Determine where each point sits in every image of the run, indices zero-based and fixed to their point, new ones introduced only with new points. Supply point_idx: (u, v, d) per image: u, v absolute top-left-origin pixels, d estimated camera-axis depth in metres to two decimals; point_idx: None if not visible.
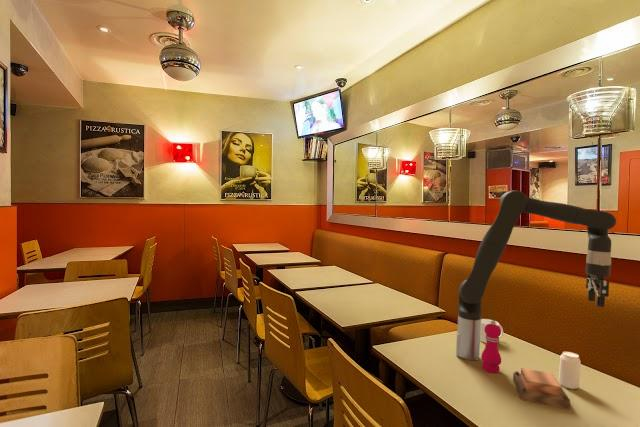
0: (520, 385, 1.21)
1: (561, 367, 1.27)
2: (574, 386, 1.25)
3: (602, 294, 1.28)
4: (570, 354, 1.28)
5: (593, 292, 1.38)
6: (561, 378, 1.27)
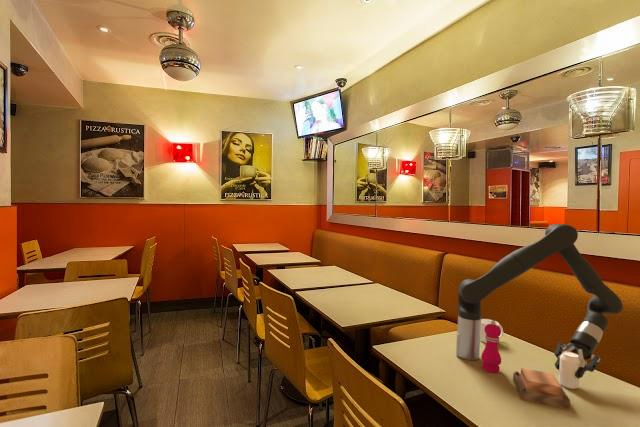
0: (520, 385, 1.21)
1: (561, 367, 1.27)
2: (574, 386, 1.25)
3: None
4: (570, 354, 1.28)
5: None
6: (561, 378, 1.27)
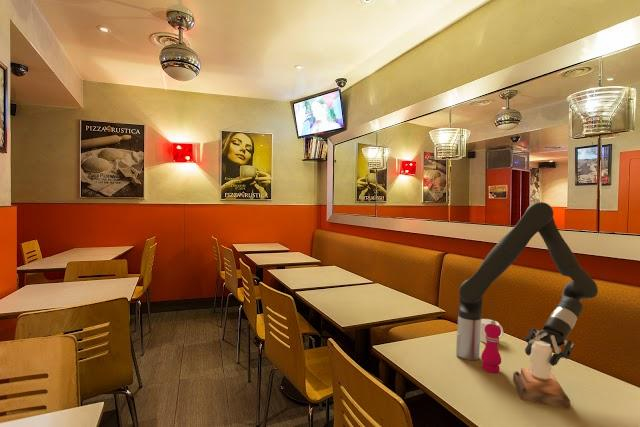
0: (520, 385, 1.21)
1: (532, 357, 1.21)
2: (545, 376, 1.18)
3: (566, 354, 1.15)
4: (542, 343, 1.21)
5: None
6: (532, 369, 1.21)
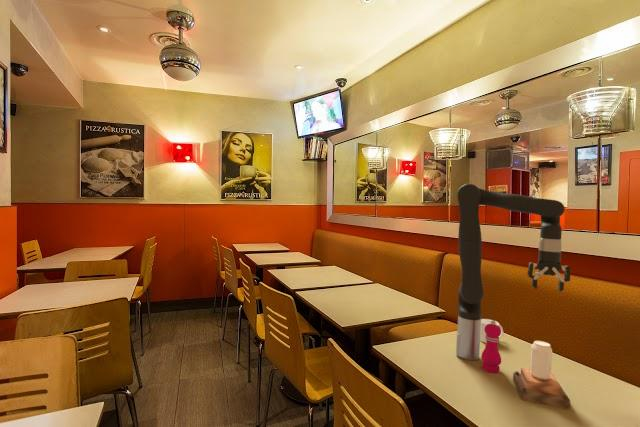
0: (520, 385, 1.21)
1: (532, 357, 1.21)
2: (545, 376, 1.18)
3: None
4: (542, 343, 1.21)
5: None
6: (532, 369, 1.21)
